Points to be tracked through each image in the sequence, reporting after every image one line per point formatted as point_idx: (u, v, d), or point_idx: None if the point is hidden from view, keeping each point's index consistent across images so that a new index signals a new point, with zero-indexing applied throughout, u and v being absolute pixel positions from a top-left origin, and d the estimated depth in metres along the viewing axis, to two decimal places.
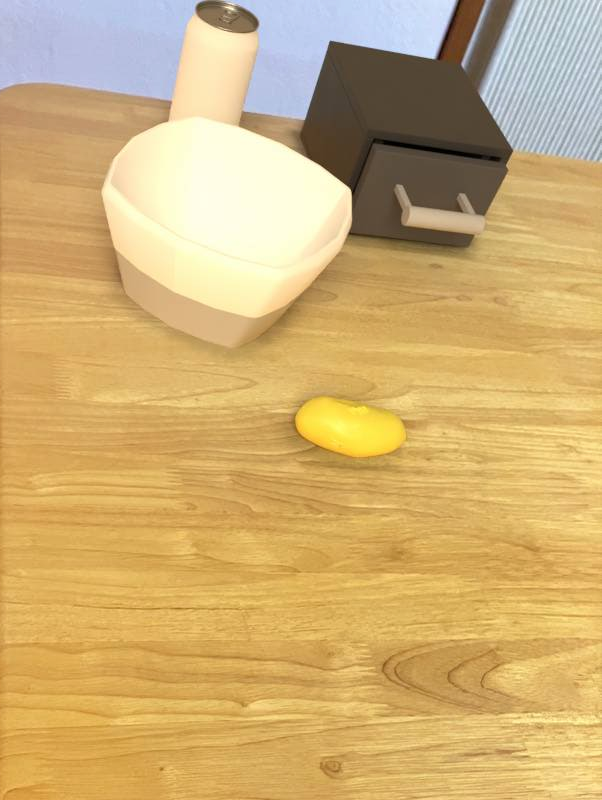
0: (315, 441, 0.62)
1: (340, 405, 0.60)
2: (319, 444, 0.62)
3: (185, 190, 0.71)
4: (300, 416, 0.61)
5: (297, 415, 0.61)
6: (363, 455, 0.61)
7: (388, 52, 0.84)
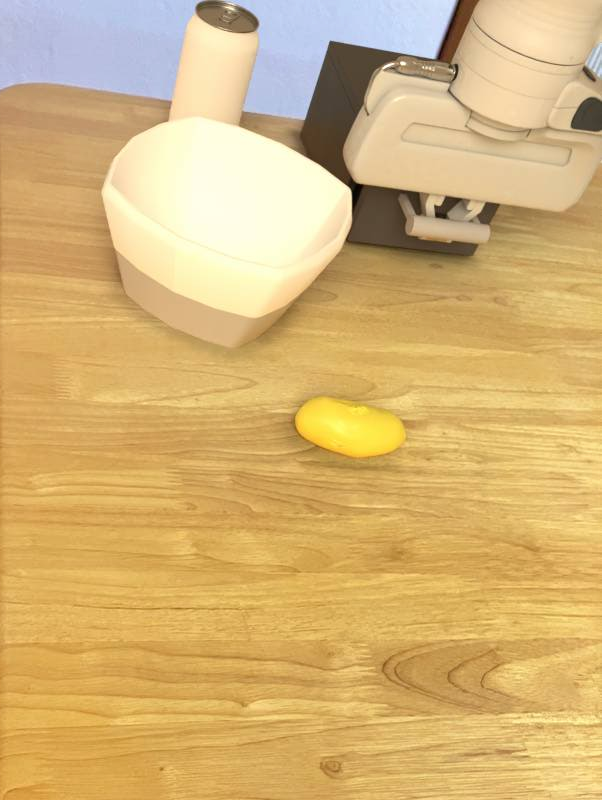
0: (315, 441, 0.62)
1: (340, 405, 0.60)
2: (319, 444, 0.62)
3: (185, 190, 0.71)
4: (300, 416, 0.61)
5: (297, 415, 0.61)
6: (363, 455, 0.61)
7: (388, 52, 0.84)
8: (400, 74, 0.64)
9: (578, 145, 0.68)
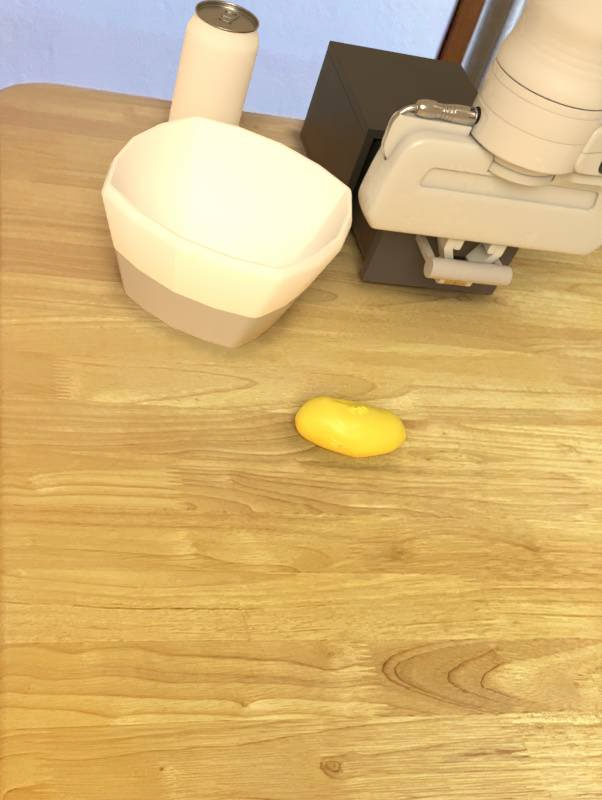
0: (315, 441, 0.62)
1: (340, 405, 0.60)
2: (319, 444, 0.62)
3: (185, 190, 0.71)
4: (300, 416, 0.61)
5: (297, 415, 0.61)
6: (363, 455, 0.61)
7: (388, 52, 0.84)
8: (419, 118, 0.61)
9: None
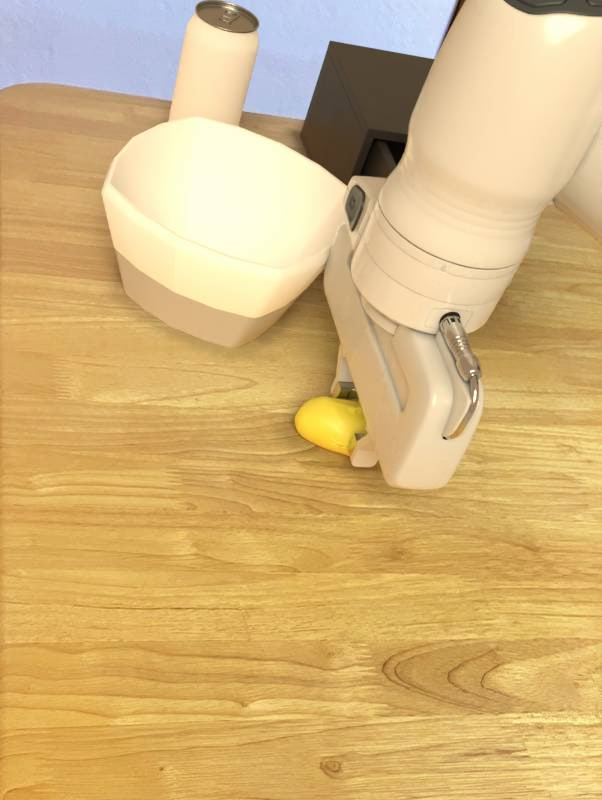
0: (314, 441, 0.62)
1: (339, 405, 0.60)
2: (319, 444, 0.62)
3: (185, 190, 0.71)
4: (300, 416, 0.61)
5: (297, 415, 0.61)
6: None
7: (388, 52, 0.84)
8: None
9: None
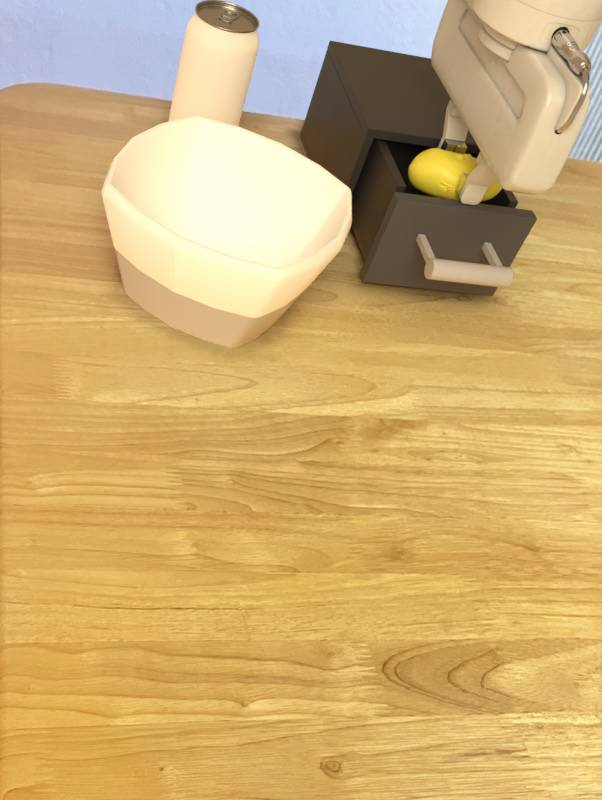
0: (425, 188, 0.72)
1: (449, 153, 0.71)
2: (429, 190, 0.72)
3: (185, 190, 0.71)
4: (414, 164, 0.72)
5: (410, 165, 0.72)
6: None
7: (388, 52, 0.84)
8: (581, 76, 0.58)
9: None
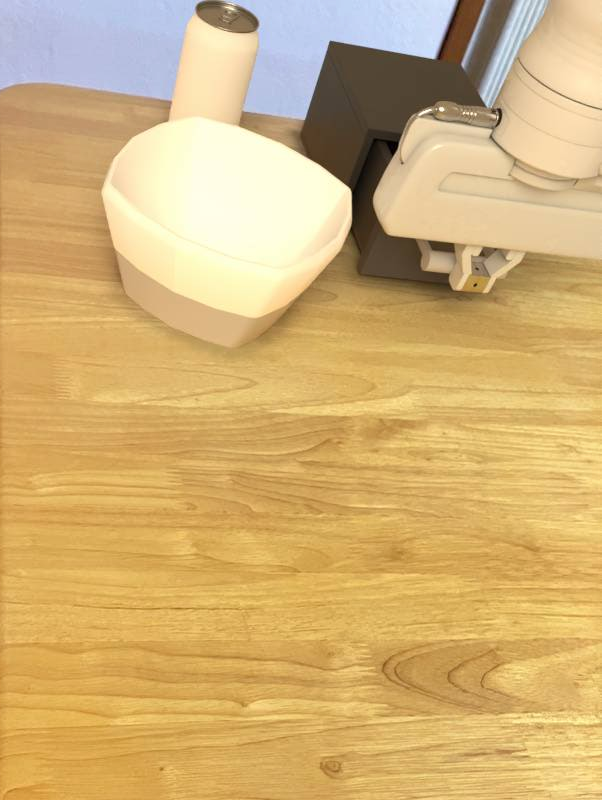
0: None
1: None
2: None
3: (185, 190, 0.71)
4: None
5: None
6: None
7: (388, 52, 0.84)
8: (438, 120, 0.58)
9: None
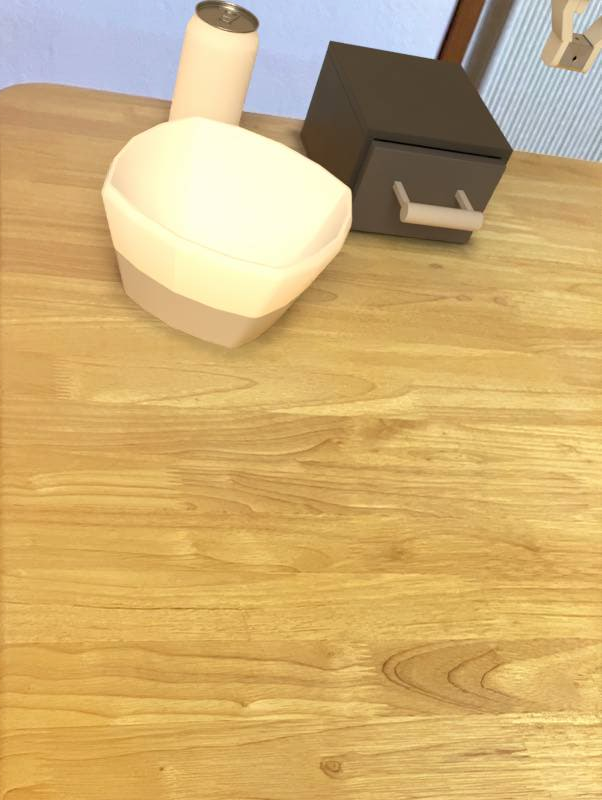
0: None
1: None
2: None
3: (185, 190, 0.71)
4: None
5: None
6: None
7: (388, 52, 0.84)
8: None
9: None
